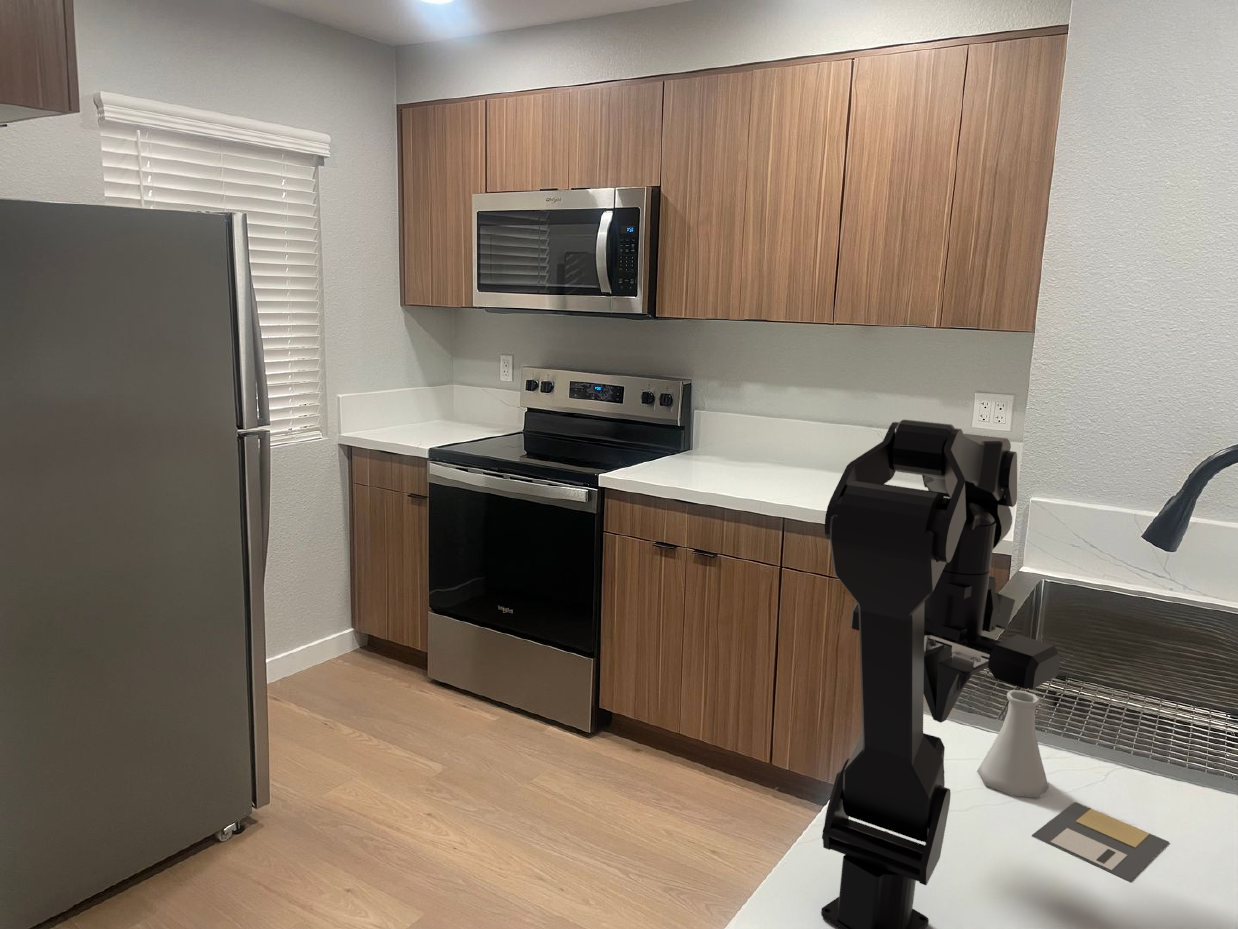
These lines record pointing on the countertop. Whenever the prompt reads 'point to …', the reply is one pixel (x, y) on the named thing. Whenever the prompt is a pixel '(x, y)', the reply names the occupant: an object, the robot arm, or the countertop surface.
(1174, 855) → the countertop surface
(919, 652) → the robot arm
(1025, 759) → the flask
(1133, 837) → the floppy disk
